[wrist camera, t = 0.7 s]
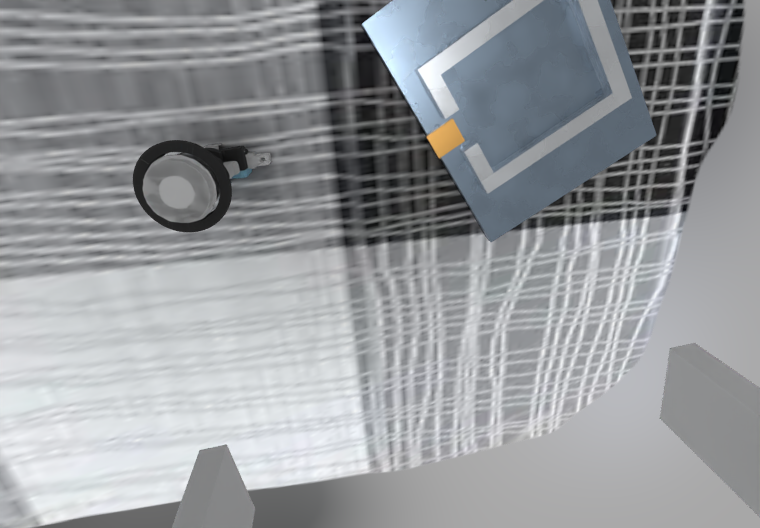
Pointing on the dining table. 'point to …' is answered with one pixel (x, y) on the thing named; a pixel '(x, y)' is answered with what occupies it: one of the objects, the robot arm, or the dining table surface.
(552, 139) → the plate
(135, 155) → the dining table surface
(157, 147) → the push button
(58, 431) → the dining table surface
